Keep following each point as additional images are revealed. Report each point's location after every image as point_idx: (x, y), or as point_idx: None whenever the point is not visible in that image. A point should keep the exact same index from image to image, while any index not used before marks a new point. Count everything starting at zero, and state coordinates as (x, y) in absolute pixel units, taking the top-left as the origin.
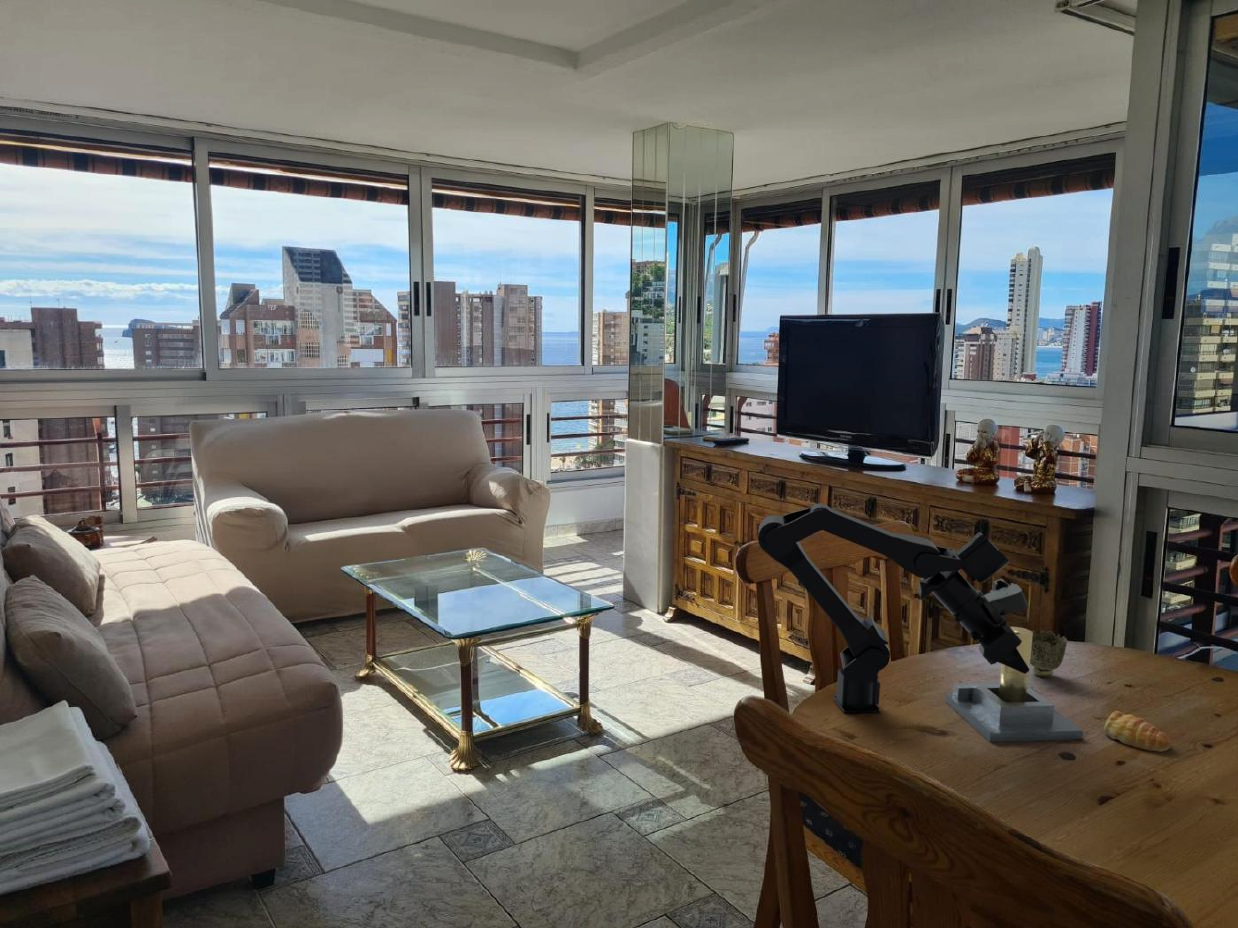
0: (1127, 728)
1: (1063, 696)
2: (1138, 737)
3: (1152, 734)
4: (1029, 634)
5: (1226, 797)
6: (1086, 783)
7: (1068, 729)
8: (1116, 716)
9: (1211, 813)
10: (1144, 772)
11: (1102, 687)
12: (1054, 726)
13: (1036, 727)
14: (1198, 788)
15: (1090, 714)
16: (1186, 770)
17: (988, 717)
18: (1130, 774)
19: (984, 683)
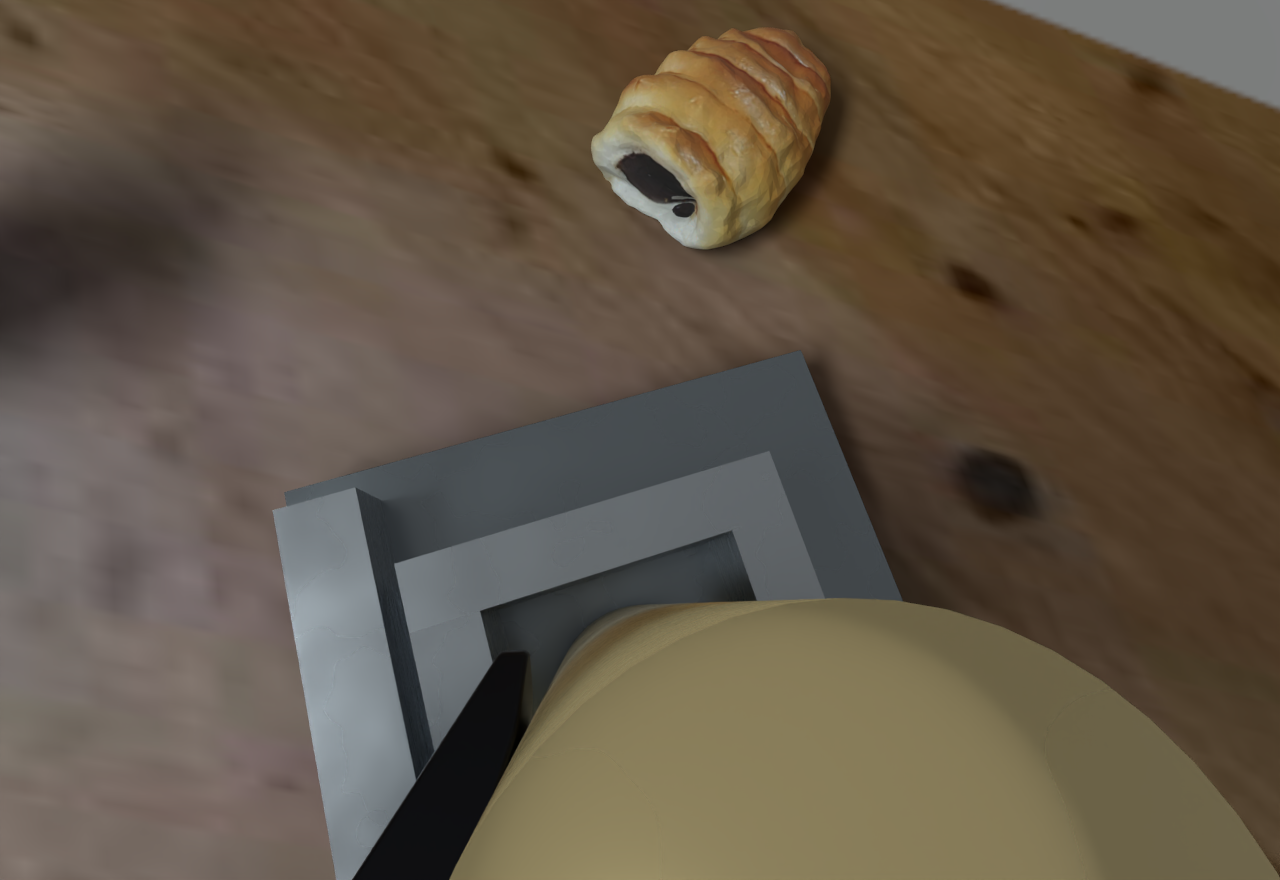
0: (784, 152)
1: (242, 304)
2: (811, 140)
3: (803, 77)
4: (1122, 752)
5: (1107, 47)
6: (1231, 477)
7: (808, 417)
8: (702, 154)
9: (1248, 132)
10: (1026, 226)
11: (93, 85)
12: (793, 479)
13: (839, 583)
14: (1079, 100)
15: (472, 245)
16: (946, 83)
17: None
18: (1067, 281)
19: (341, 868)
